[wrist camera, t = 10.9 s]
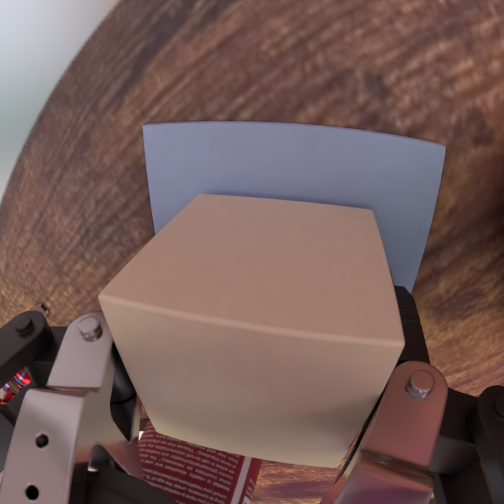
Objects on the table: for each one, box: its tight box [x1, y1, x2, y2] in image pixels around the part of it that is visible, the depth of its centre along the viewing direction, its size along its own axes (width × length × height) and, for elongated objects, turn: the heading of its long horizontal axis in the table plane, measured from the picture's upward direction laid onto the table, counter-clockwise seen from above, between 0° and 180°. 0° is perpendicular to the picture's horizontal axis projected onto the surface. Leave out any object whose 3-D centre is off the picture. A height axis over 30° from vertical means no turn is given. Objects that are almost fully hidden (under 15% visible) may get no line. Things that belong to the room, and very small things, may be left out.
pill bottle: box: [138, 419, 262, 504], centre depth 12 cm, size 6×6×11 cm
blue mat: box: [143, 121, 446, 294], centre depth 10 cm, size 9×9×1 cm
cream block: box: [98, 194, 405, 468], centre depth 8 cm, size 5×5×5 cm
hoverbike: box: [0, 368, 32, 404], centre depth 20 cm, size 5×12×6 cm, turn 137°
